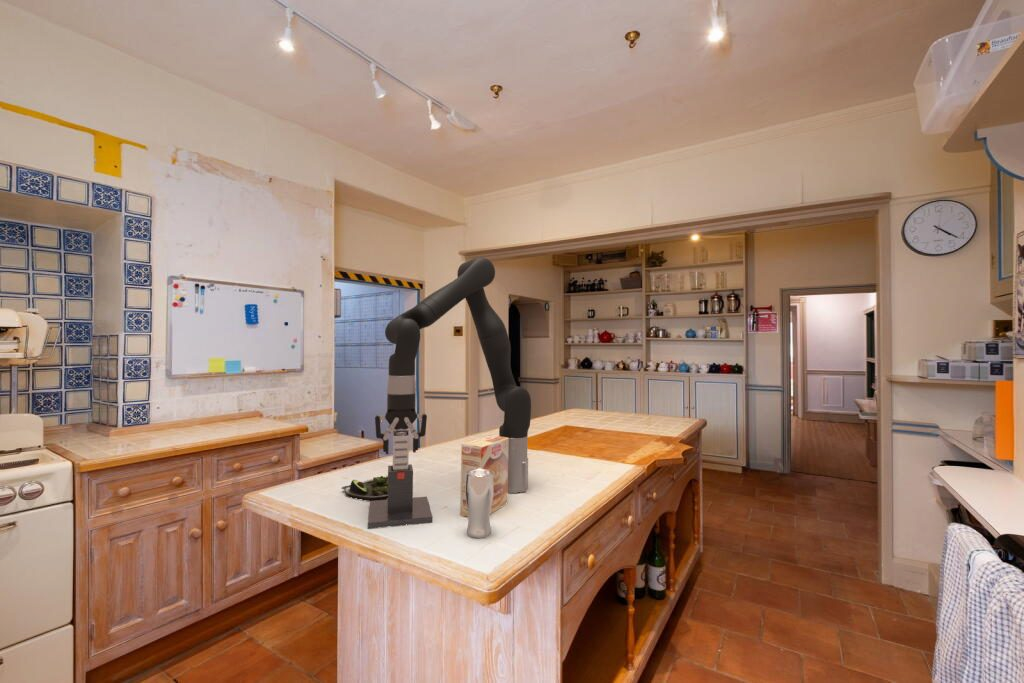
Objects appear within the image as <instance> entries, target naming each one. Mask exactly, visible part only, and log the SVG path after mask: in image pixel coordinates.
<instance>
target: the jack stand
mask: <svg viewBox="0 0 1024 683" xmlns="http://www.w3.org/2000/svg"><path fill="white" fill-rule="evenodd" d="M387 475H388V499H386V500H377V501H369V506H368V507H369V508H368V518H367V529H368V528H370V529H378V528H377V527H381V528H388V527H387V526H391V527H398V525H402V526H409V525H408V524H412V525H419V523H422V524H432V523H433V514H432V510H431V506H430V504H429V499H428V497H427V496H418V497H416V496H414V468H413V465H412V464H411V463H410V464H409V463H408V470H401V471H393V464H392V465H387ZM406 524H407V525H406ZM375 527H376V528H375Z"/></svg>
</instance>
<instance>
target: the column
mask: <svg viewBox="0 0 1024 683" xmlns="http://www.w3.org/2000/svg"><path fill="white" fill-rule="evenodd" d="M409 431H410V430H409V429H398V430H395V429H393V431H392V434H393V435H392V465H393V471H401V470H408V465H409V456H410V455H409V447H410V445H409V444H410V442H409V441H410V434H409Z"/></svg>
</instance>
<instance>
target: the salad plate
mask: <svg viewBox="0 0 1024 683" xmlns="http://www.w3.org/2000/svg"><path fill="white" fill-rule="evenodd" d="M340 489H342V490H344V492H345V494H346V496H347V497H348V496H349V497H348V498H350V497H352V498H351V499H354V498H357V499H356V500H359V499H362V500H361V501H364V500H369V501H368V502H370V501H377V500H385V499H386V500H388V474H387V475H385V476H382V475H380V476H376V477H373V478H372V479H367V480H364V481H359V480H357V479H352V480H351V483H350V484H349V485H345V486H341V488H340Z"/></svg>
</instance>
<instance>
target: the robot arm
mask: <svg viewBox="0 0 1024 683" xmlns="http://www.w3.org/2000/svg"><path fill="white" fill-rule="evenodd" d="M456 274H457V278H455V279H454V280H452V281H450V282H449V283H448V284H446V285H444V286H442V287H440V288H439V289H437V290H435V291H434V292H432V293H431V294H429V295H428V296H426V297H425V298H423V299H422V300H421V301H420V302H418V303H417V304H416V305H415V306H413V307H412V308H410V309H408V310H407V311H404V312H403V313H401V314H399V315H397V316H396V317H394V318H393V319H391V320H390V321H389V322H388V323H387V325H386V327H385V329H384V330H385V331H384V334H385V338H386V340H387V341H388V342H389V343H391V344H393V345H395V347H394V348H395V349H394V353H392V354H391V355H390V356H389V359H388V378H387V388H386V392H387V393H386V396H387V397H386V413H385V414H380V415H379V414H376V415H375V416H374V424H375V437H376V439H380V440H382V446H383V447H382V450H383V453H385V455H389V449H390V448H389V447H390V446H389V444H390V443H389V442H390V440H389V437H390V435H391V434H393V431H394V430H398V429H406V430H409V431H410V432H411V434H412V436H413V437H412V453H413V454H414V453H416V452H417V451H419V439H420V438H422V437H425V436H426V430H427V420H428V415H427V414H426V413H424V412H423V413H417V412H416V396H417V394H416V391H417V388H416V387H417V386H416V385H417V384H416V382H417V381H416V359H417V358H416V357H417V354H418V351H419V347H420V342H421V341H420V340H421V331H420V330H422V329H424V328H428V327H430V326H432V325H433V324H434V323H436V322H437V321H438V320H440V319H441V318H442V317H443V316H444V315H446V314H447V313H448V312H449V311H451V310H452V309H453V308H454V307H455V306H457V305H458V304H459V303H460V302H462V301H463V300H465V301H466V302H467V305H468V308H469V311H470V314H471V318H472V320H473V324H474V326H475V329H476V332H477V338H478V341H479V344H480V347H481V351H482V353H483V356H484V359H485V362H486V366H487V367H488V370H489V374H490V376H491V381H492V386H493V391H494V392H493V394H494V397H495V402H496V404H497V407H498V409H500V410H501V411H503V415H504V416H503V423H502V424H501V425H500V427H499V430H498V431H499V432H498V433H499V434H498V435H499V436H501V437H507V438H509V448H508V494H519V493H518V492H520V493H526V492H527V489H528V488H529V457H528V437H529V434H528V432H529V429H530V426H531V418H532V417H531V415H532V413H531V412H532V399H531V395H530V393H529V391H528V390H527V389H526V388H524V387H523V386H517V383H516V380H515V377H514V375H513V373H512V367H511V352H512V348H511V341H510V337H509V335H508V331H507V327H506V325H505V323H504V321H503V320H502V318H501V317H500V316H499V315H498V313H497V312H496V310H494V308H493V307H492V306H491V304H490V303H489V301H488V298H487V295H486V291H485V289H484V288H486V287H487V286H489V285H490V284H491V283H493V281H494V279H495V276H496V268H495V265H494V263H493V262H492V261H491V260H490V259H488V258H486V257H475V258H472V259H470V260H467V261H465V262H463V263H461V264H460V266H459V267H458V269H457V273H456ZM417 419H418V421H419V423H420V430H419V431H417V430H416V428H415V426H414V422H415V421H416V420H417ZM384 420H386V422H387V423H388V424H389V425H388V427H387V429H386V430H385V432H384V433H381V432H382V431H381V428H382V427H381V424H383V423H384ZM527 487H528V488H527Z"/></svg>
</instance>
